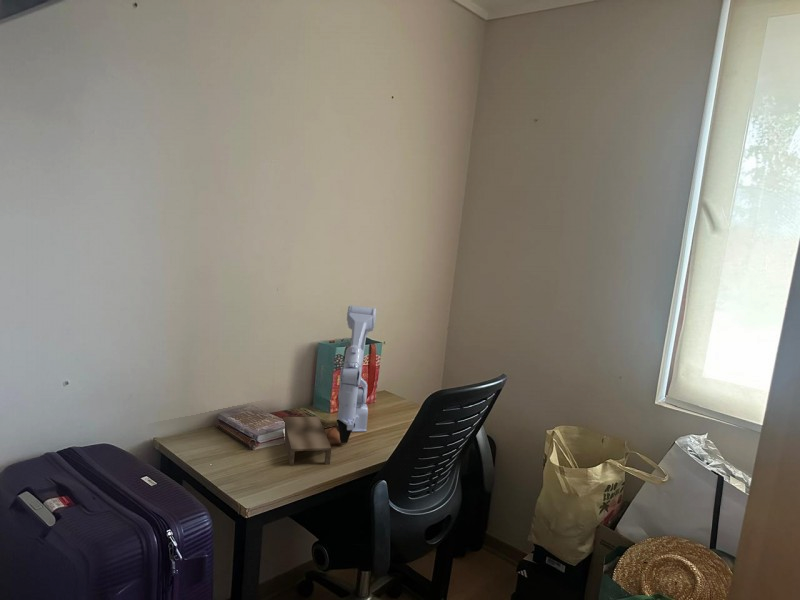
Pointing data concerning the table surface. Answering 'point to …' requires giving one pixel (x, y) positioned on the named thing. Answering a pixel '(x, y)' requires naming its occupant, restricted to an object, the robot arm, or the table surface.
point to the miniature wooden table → (305, 436)
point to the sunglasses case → (332, 437)
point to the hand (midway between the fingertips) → (343, 442)
